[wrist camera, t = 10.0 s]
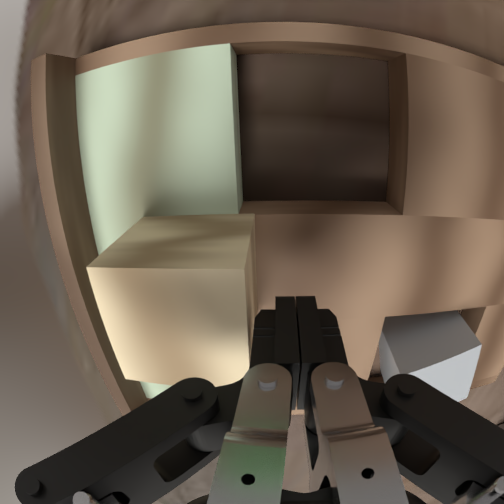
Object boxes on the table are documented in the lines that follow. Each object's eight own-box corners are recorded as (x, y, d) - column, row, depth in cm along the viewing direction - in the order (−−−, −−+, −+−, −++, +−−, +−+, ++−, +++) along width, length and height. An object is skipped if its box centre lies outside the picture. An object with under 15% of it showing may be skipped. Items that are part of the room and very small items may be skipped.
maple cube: (254, 213, 14) (244, 268, 9) (257, 312, 16) (250, 390, 11) (143, 216, 14) (86, 267, 9) (160, 309, 17) (125, 378, 12)
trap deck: (544, 97, 11) (590, 103, 7) (483, 364, 21) (505, 400, 16) (85, 67, 13) (31, 60, 9) (147, 381, 23) (129, 427, 19)
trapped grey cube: (445, 295, 18) (481, 344, 13) (440, 349, 20) (466, 397, 15) (376, 318, 19) (400, 376, 14) (380, 370, 21) (397, 424, 16)
